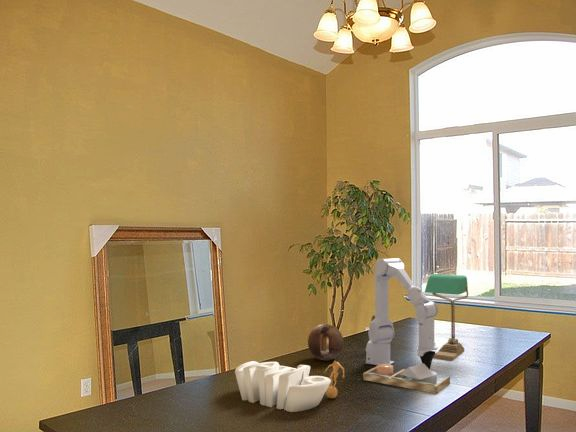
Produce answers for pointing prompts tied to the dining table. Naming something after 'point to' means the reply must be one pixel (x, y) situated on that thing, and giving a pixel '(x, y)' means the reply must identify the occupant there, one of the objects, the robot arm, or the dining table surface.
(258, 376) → the white wavy slab sculpture
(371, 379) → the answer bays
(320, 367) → the dining table surface
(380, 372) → the tan smooth rounded piece
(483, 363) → the dining table surface
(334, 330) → the wooden sphere
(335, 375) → the figurine
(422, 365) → the wedge on round base
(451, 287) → the banker's lamp
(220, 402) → the dining table surface
